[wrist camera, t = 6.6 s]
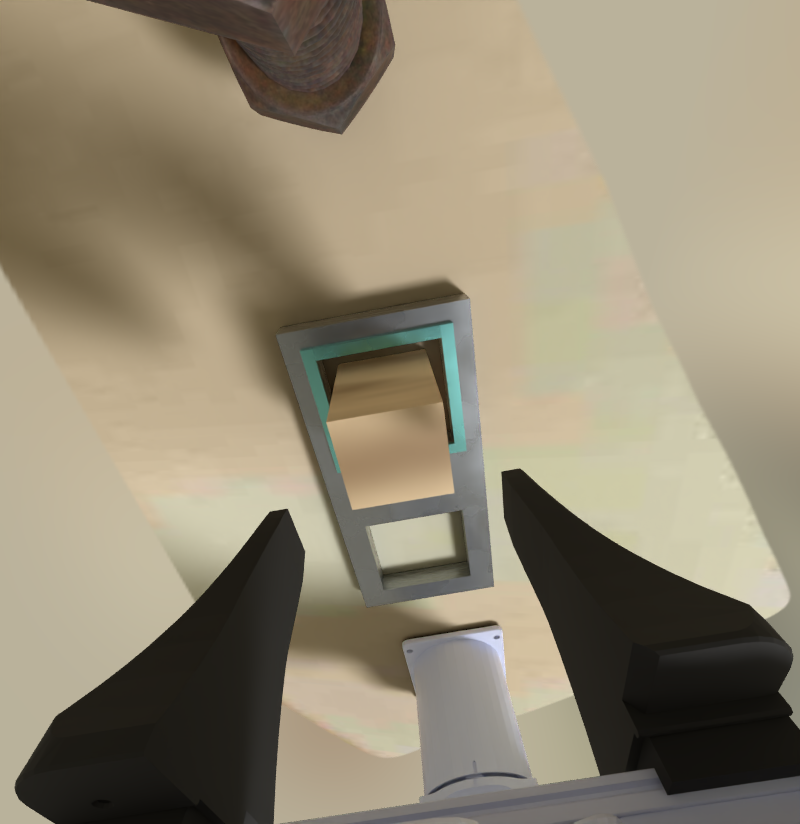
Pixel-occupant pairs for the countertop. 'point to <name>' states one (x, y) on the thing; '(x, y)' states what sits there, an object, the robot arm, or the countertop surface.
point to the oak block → (390, 430)
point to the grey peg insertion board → (455, 334)
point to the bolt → (292, 51)
